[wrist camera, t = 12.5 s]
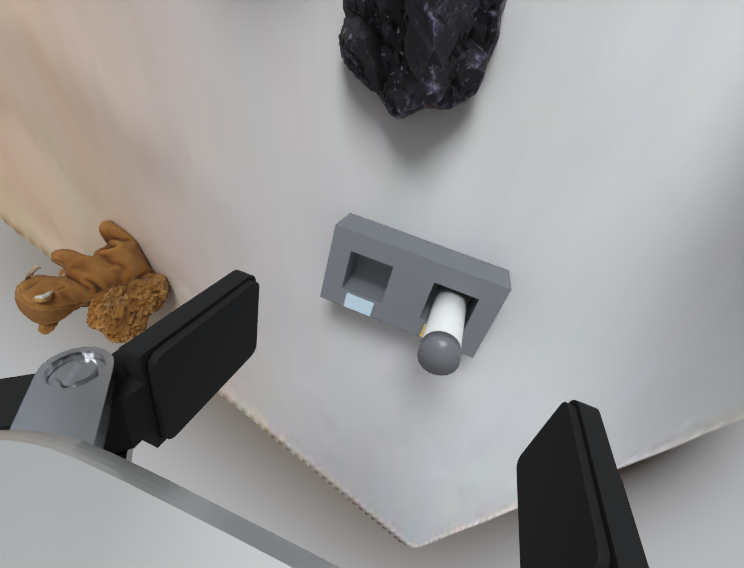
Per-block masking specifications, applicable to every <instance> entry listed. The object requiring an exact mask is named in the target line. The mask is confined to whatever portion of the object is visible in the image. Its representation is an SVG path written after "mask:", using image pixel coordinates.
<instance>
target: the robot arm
mask: <svg viewBox="0 0 744 568" xmlns="http://www.w3.org/2000/svg"><path fill="white" fill-rule="evenodd" d="M258 301H259V284H258V283H257V282H256V279H255V277H254V276H252V275H250V274H247V273H245V272H242V271H239V270H235V271H233V272H231V273H230V274H228V275H227V276H225V277H224V278H222V279H221V280H219V281H218V282H216V283H215V284H213V285H212V286H210V287H209V288H207V289H206V290H204V291H203V292H201V293H200V294H198V295H197V296H195V297H194V298H192V299H191V300H189V301H188V302H186V303H185V304H183V305H182V306H180V307H179V308H177V309H176V310H175V311H173V312H172V313H170V314H169V315H167V316H166V317H164V318H163V319H161V320H160V321H158V322H157V323H155V324H154V325H152V326H151V327H149V328H148V329H146V330H145V331H143V332H142V333H140V334H139V335H137V336H136V337H134V338H133V339H131V340H130V341H128V342H127V343H125V344H124V345H122V346H121V347H120V348H119V350H117V351H116V352H114V353H113V354H111V353H110V352H109V351H107V350H105V349H103V348H98V347H79V348H74V349H70V350H67V351H64V352H61V353H59V354H57V355H55V356H53V357H51V358H49V359H48V360H47V361H46V362H45V363H43V364H42V365H41V366H40V368H39V369H38V370H37V372H36V373H35V374H30V375H23V376H17V377H10V378H4V379H0V568H340V567H338V566H336V565H334V564H332V563H330V562H328V561H326V560H324V559H322V558H320V557H318V556H316V555H314V554H313V553H311V552H309V551H307V550H305V549H303V548H301V547H299V546H297V545H295V544H293V543H291V542H289V541H287V540H285V539H283V538H281V537H279V536H277V535H275V534H274V533H272V532H270V531H268V530H266V529H264V528H262V527H260V526H258V525H256V524H254V523H252V522H250V521H248V520H246V519H244V518H242V517H240V516H238V515H236V514H234V513H232V512H230V511H228V510H226V509H224V508H222V507H220V506H218V505H217V504H214V503H212V502H211V501H209V500H206V499H205V498H203V497H201V496H199V495H197V494H195V493H193V492H191V491H189V490H187V489H185V488H183V487H181V486H179V485H177V484H175V483H173V482H171V481H169V480H167V479H165V478H163V477H161V476H159V475H157V474H155V473H153V472H150V471H149V470H146V469H144V468H142V467H140V466H138V465H136V464H134V463H132V462H131V460H132V453H133V448H135V446H136V445H138V443H140V442H141V441H142V440H143V441H146V442H147V443H149V444H151V445H153V446H155V447H157V448H158V447H159V446H160V445H161V444H162V443H163V442H164V441H165V440H166V439H172V438H173V437H175V436H176V435H177V434H178V433H179V432H180V431H181V430H182V429H183V428H184V427H185V426H186V424H187V423H188V422H189V421H190V420H191V419H192V418H193V417H194V416H195V415H196V414H197V413H198V412H199V411H200V410H201V409H202V408H203V406H204V405H205V404H206V403H207V402H208V401H209V400H210V399H211V398H212V397H213V396H214V395H215V394H216V393H217V392H218V391H219V390H220V388H221V387H222V386H223V385H224V384H225V383H226V382H227V381H228V380H229V379H230V378H231V377H232V376H233V375H234V374H235V373H236V372H237V370H238V369H239V368H240V367H241V366H242V365H243V364H244V363H245V362H246V361H247V360H248V359H249V358H250V357H251V356H252V354H253V353H254V351H255V348H256V343H257V322H258ZM517 492H518V518H519V542H520V543H519V544H520V567H521V568H649V566H648V563H647V560H646V557H645V553H644V550H643V547H642V544H641V540H640V537H639V534H638V531H637V527H636V524H635V521H634V518H633V515H632V511H631V508H630V505H629V501H628V498H627V495H626V492H625V488H624V485H623V482H622V480H621V477H620V475H619V474H618V471H617V467H616V464H615V461H614V457H613V454H612V451H611V448H610V444H609V441H608V438H607V434H606V431H605V428H604V425H603V421H602V418H601V415H600V412H599V410H598V409H597V408H594V407H592V406H589V405H587V404H584V403H581V402H579V401H576V400H572V401H570V402H569V403H566V402H563V403H562V404H561V405H560V406H559V407H558V409H557V410H556V411H555V412H554V414H553V415H552V416H551V418H550V419H549V420H548V421H547V423H546V424H545V425H544V426H543V428H542V429H541V430H540V431H539V433H538V434H537V435H536V437H535V438H534V439H533V440H532V442H531V443H530V444H529V445H528V447H527V448H526V449H525V451H524V452H523V453H522V454H521V456H520V457H519V460H518V463H517Z"/></svg>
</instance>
